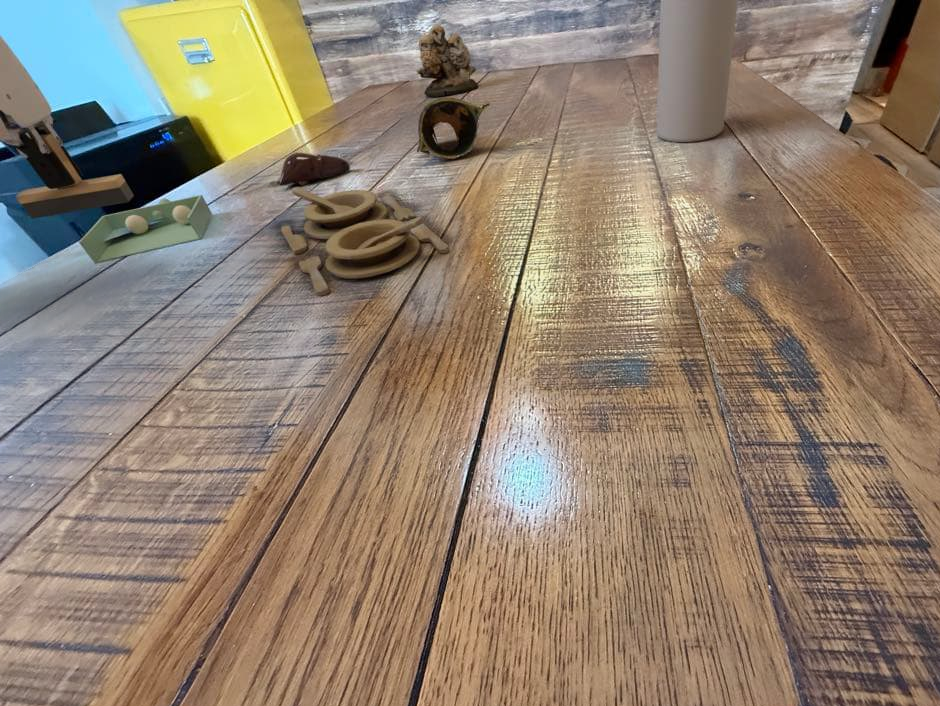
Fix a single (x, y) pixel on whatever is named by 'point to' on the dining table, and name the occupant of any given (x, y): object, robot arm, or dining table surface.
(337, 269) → the tableware set
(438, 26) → the owl figurine
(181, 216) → the ball
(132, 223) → the ball
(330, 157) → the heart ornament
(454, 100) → the pot
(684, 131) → the cylinder vase
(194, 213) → the dustpan
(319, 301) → the dining table surface
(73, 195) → the brush
